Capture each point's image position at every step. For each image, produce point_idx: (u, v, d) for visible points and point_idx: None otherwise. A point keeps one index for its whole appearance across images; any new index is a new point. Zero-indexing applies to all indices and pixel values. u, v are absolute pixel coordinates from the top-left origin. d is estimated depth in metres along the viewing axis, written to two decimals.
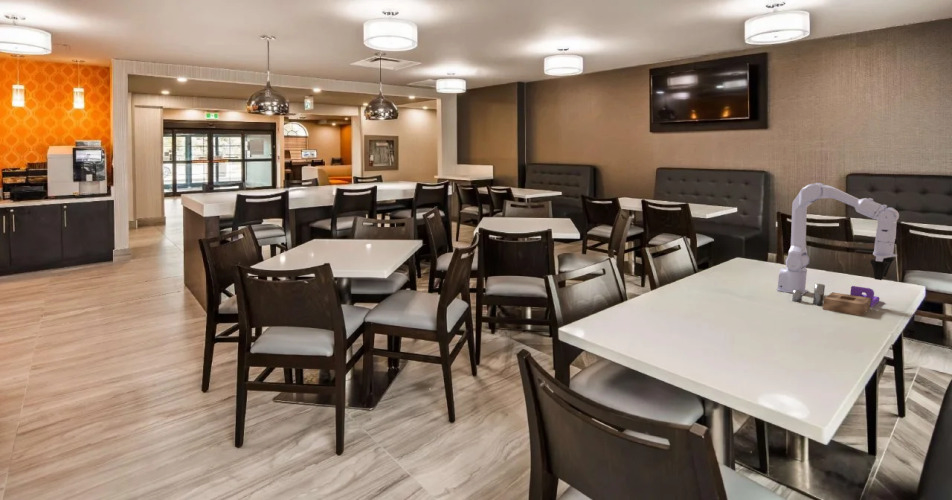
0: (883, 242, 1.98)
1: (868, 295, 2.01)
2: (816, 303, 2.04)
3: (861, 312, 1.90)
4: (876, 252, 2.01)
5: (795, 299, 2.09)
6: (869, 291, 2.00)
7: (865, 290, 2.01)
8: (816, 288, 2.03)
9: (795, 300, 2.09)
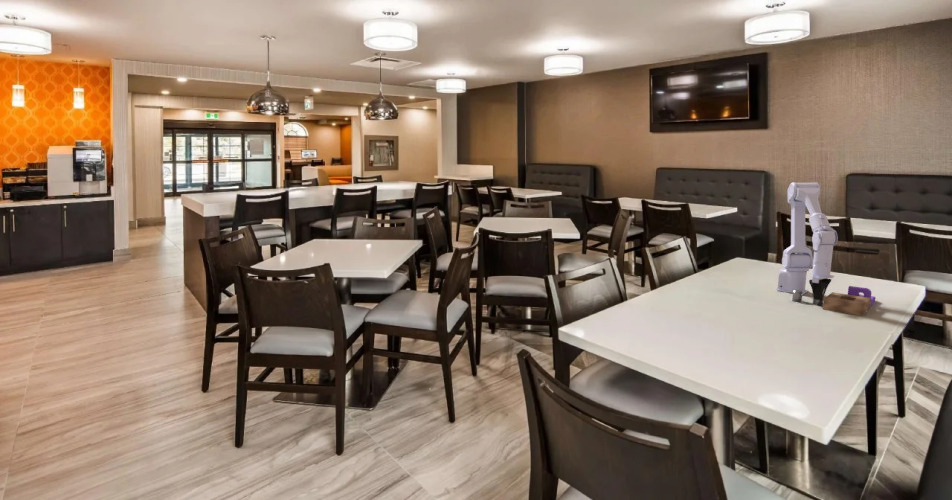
0: (820, 263, 2.00)
1: (866, 295, 2.01)
2: (816, 303, 2.04)
3: (861, 312, 1.90)
4: (814, 273, 2.03)
5: (795, 299, 2.09)
6: (866, 291, 2.00)
7: (862, 290, 2.01)
8: None
9: (795, 300, 2.09)
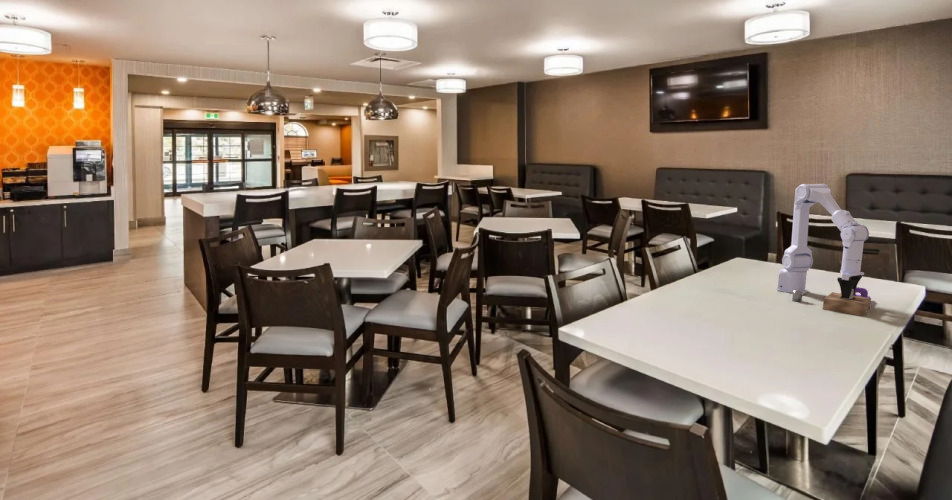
0: (850, 260, 1.94)
1: (862, 295, 2.01)
2: None
3: (861, 312, 1.90)
4: (843, 270, 1.96)
5: (795, 299, 2.09)
6: (863, 291, 2.00)
7: (859, 290, 2.01)
8: None
9: (795, 300, 2.09)
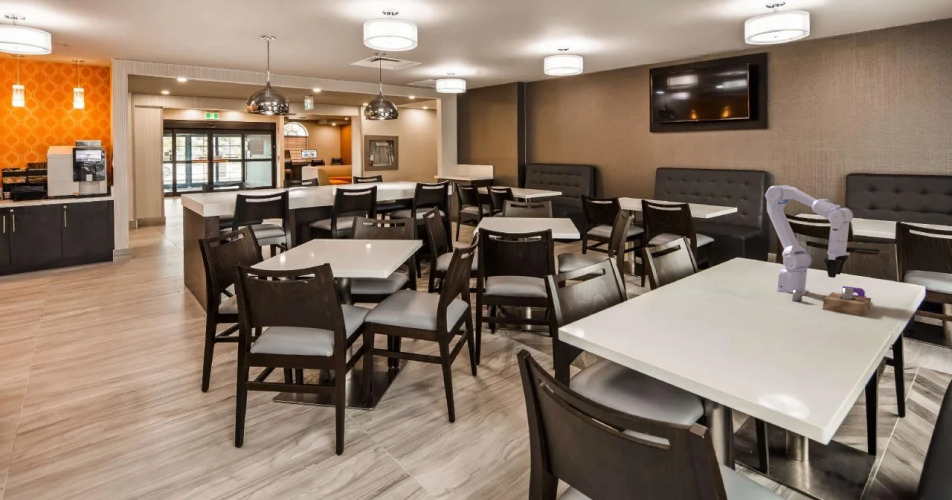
0: (836, 241, 2.05)
1: (860, 295, 2.01)
2: None
3: (861, 312, 1.90)
4: (830, 251, 2.08)
5: (795, 299, 2.09)
6: (861, 291, 2.00)
7: (857, 290, 2.01)
8: (844, 292, 1.97)
9: (795, 300, 2.09)
